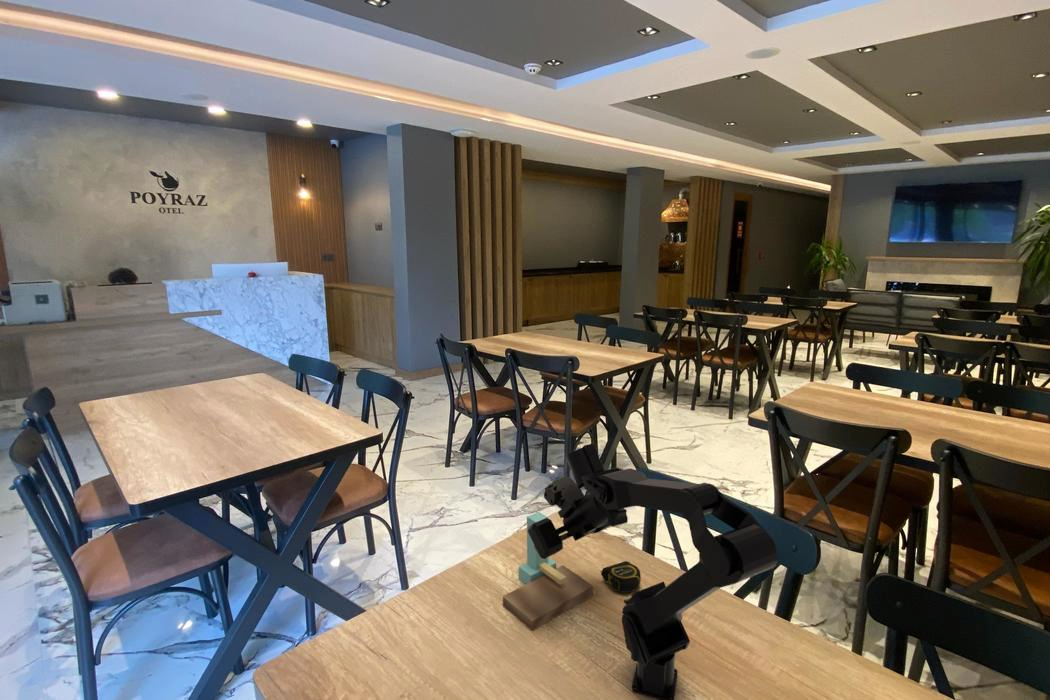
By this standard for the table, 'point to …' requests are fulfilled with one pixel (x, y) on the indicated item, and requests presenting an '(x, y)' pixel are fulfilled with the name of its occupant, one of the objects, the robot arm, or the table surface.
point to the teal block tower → (537, 559)
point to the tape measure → (622, 576)
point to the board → (547, 598)
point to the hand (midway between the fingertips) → (553, 540)
